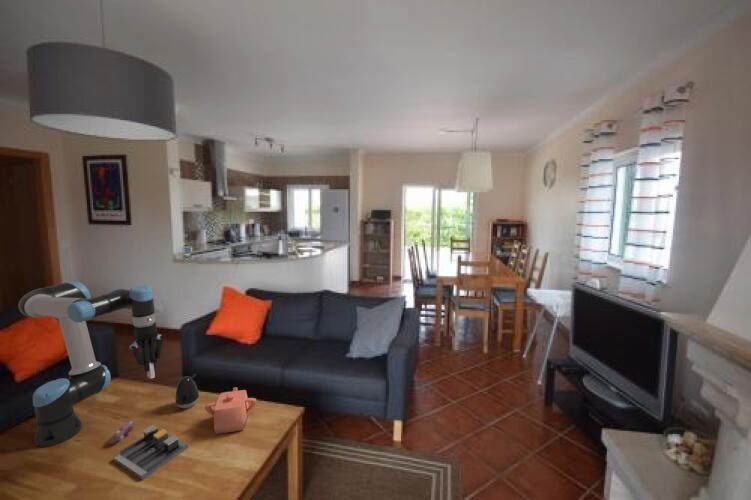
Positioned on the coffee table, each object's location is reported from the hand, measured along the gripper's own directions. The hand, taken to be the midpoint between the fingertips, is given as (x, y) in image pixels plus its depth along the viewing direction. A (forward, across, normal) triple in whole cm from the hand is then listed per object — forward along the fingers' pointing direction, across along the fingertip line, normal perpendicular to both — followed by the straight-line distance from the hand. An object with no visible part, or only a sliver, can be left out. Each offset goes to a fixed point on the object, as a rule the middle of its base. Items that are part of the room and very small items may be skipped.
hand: (151, 377), depth 141 cm
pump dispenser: (+28, +20, +9) cm, 36 cm away
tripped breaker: (+26, -3, -8) cm, 27 cm away
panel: (+28, -7, -8) cm, 30 cm away
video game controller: (+28, -7, +13) cm, 32 cm away
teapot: (+28, +23, -20) cm, 41 cm away
